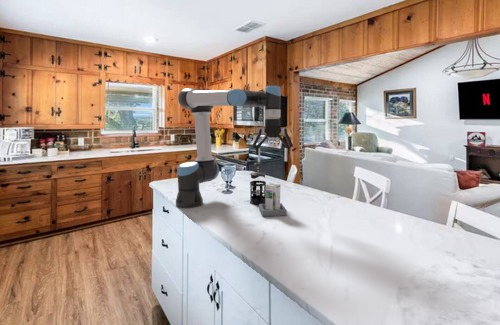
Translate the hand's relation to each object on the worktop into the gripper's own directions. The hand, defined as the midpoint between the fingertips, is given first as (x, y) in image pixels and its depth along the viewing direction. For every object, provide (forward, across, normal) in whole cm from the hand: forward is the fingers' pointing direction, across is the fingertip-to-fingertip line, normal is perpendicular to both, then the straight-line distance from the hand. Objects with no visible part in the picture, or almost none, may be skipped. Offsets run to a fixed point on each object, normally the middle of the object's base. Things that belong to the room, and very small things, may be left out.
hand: (272, 161), depth 143 cm
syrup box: (+26, 0, 0) cm, 26 cm away
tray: (+26, 0, 0) cm, 27 cm away
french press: (+27, -5, +19) cm, 33 cm away
